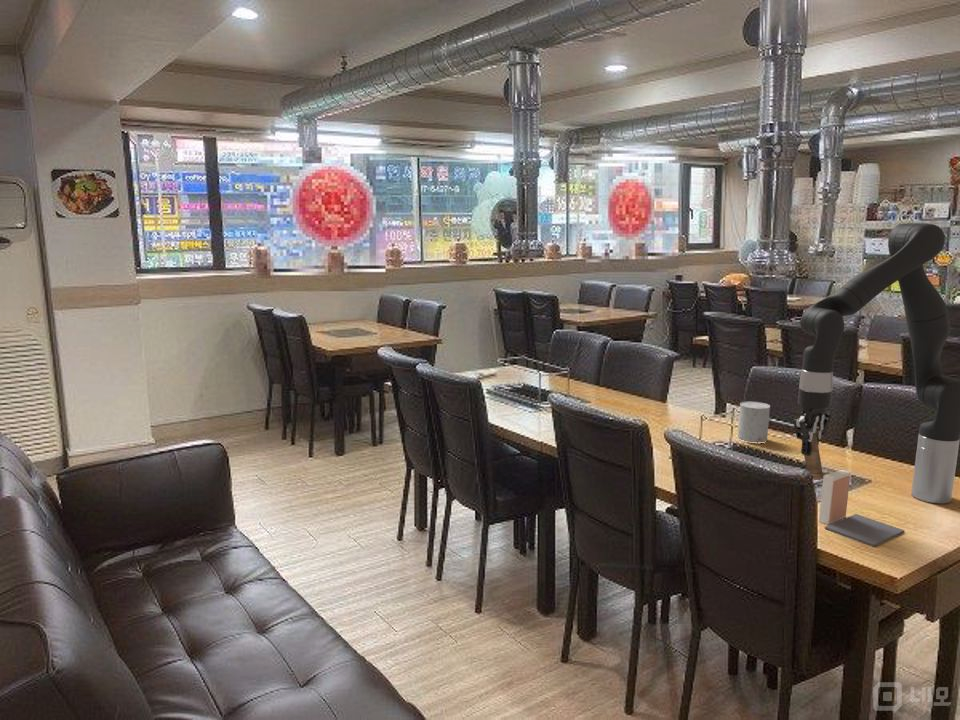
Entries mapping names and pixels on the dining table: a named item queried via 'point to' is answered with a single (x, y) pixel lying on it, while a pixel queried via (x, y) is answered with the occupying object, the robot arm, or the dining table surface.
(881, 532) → the mat
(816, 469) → the brown tapered stand
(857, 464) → the dining table surface
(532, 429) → the dining table surface
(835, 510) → the white rectangular block
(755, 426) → the grey stone cylinder
